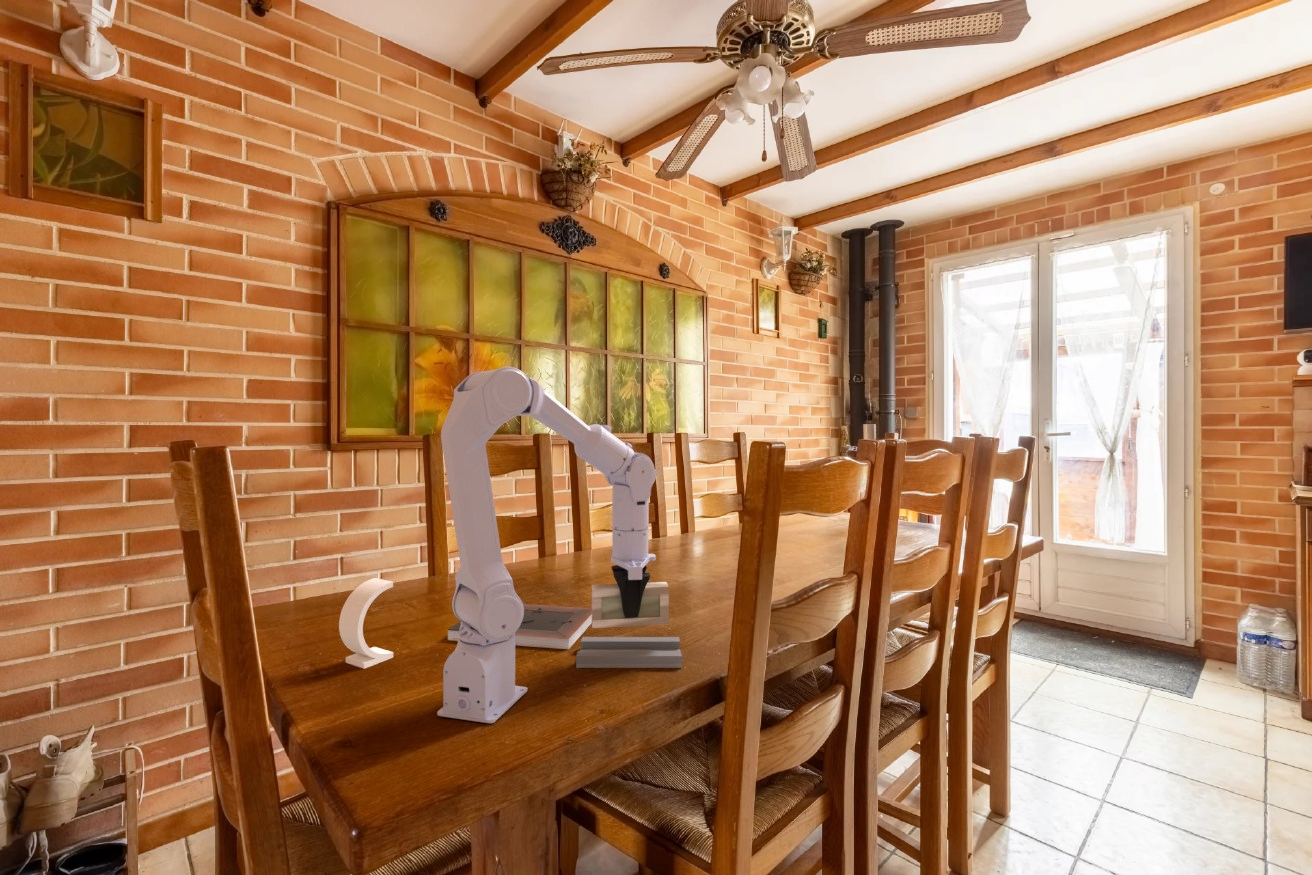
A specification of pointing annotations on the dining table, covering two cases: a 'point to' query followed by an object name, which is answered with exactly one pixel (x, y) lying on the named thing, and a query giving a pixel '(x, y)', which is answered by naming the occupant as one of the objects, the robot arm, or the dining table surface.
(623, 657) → the grooved channel
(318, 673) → the dining table surface
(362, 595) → the headphone stand
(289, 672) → the dining table surface
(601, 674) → the dining table surface
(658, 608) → the frame
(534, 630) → the picture frame
